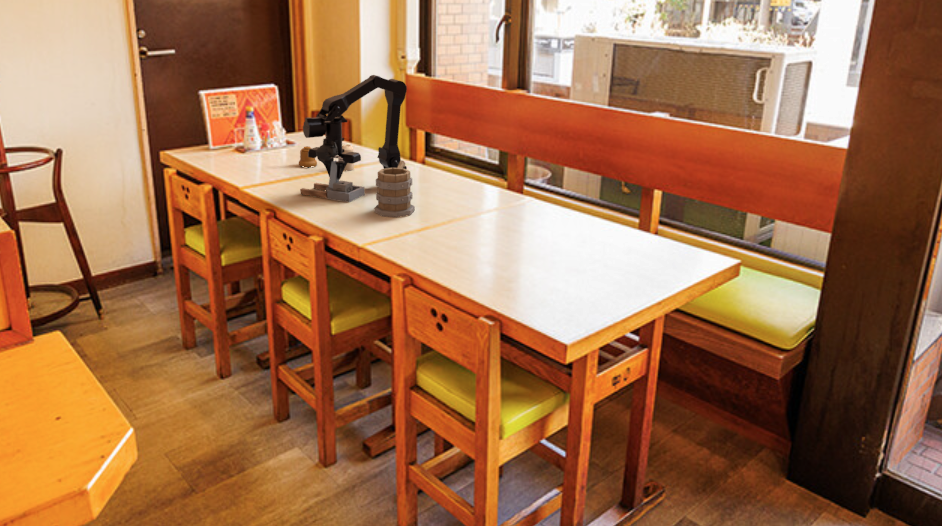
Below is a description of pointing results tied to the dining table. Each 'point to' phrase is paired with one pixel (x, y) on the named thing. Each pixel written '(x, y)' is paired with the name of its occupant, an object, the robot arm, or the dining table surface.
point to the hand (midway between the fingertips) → (334, 178)
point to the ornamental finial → (306, 158)
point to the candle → (346, 150)
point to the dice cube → (343, 186)
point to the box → (346, 194)
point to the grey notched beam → (332, 176)
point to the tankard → (394, 192)
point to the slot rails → (316, 192)
